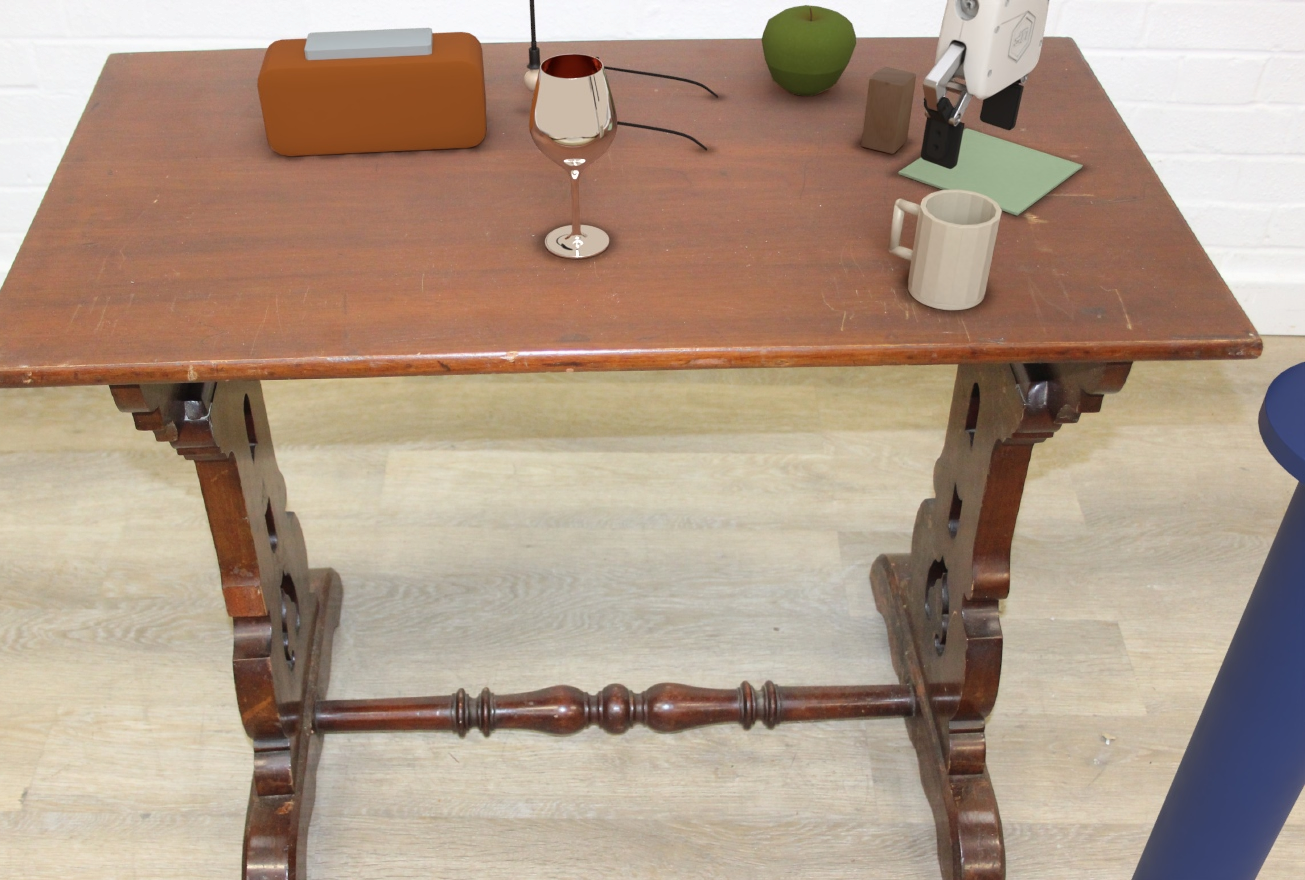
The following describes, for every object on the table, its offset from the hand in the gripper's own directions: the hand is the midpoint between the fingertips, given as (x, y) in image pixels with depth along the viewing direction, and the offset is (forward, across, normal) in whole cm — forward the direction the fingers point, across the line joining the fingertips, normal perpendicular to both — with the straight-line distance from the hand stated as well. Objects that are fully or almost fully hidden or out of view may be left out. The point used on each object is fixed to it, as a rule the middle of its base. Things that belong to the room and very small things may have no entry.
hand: (968, 143), depth 114 cm
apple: (+15, +28, +35) cm, 48 cm away
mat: (+15, +24, +8) cm, 29 cm away
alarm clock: (+16, -13, +64) cm, 68 cm away
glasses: (+15, +10, +44) cm, 48 cm away
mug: (+15, 0, +1) cm, 15 cm away
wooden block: (+15, +22, +20) cm, 34 cm away
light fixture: (+16, +4, +56) cm, 59 cm away
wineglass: (+15, -16, +31) cm, 38 cm away
